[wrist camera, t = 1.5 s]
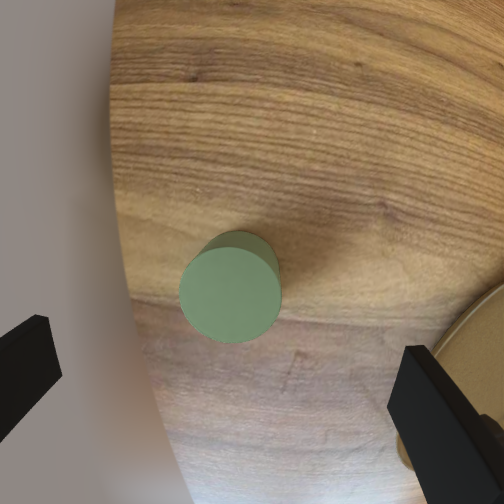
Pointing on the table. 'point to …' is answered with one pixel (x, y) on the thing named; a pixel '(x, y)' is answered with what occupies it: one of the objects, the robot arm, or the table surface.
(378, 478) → the table surface
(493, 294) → the plant saucer
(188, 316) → the sage green cylinder
